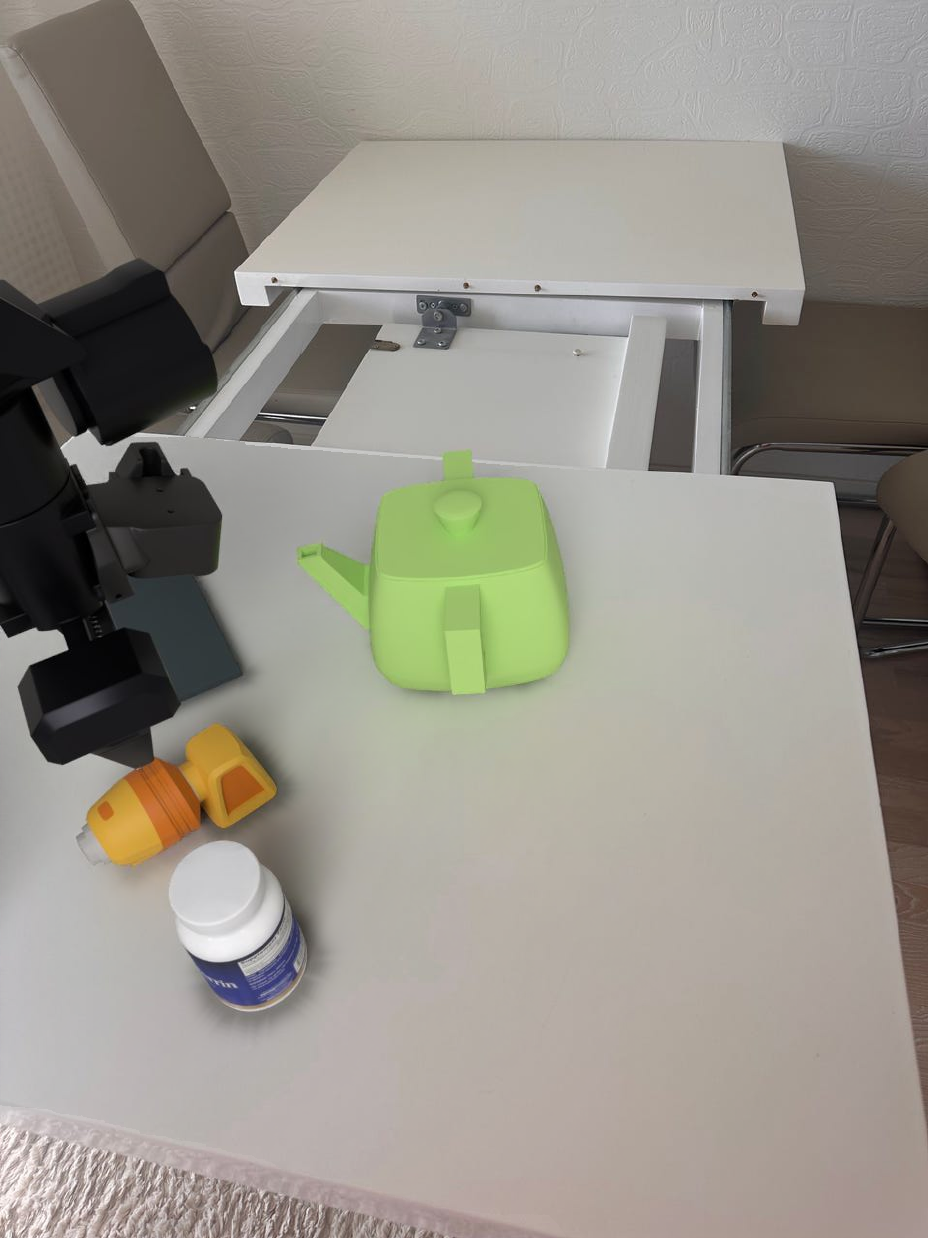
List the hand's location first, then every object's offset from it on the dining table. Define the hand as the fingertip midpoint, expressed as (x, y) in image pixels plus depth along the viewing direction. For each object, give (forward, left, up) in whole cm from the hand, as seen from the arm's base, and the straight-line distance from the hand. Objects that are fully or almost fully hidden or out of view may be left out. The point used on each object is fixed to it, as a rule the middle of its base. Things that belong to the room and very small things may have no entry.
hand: (123, 706), depth 54 cm
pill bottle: (+1, -12, -12) cm, 17 cm away
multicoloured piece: (0, 0, -12) cm, 12 cm away
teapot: (+22, +5, -12) cm, 26 cm away
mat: (+3, +21, -12) cm, 24 cm away
